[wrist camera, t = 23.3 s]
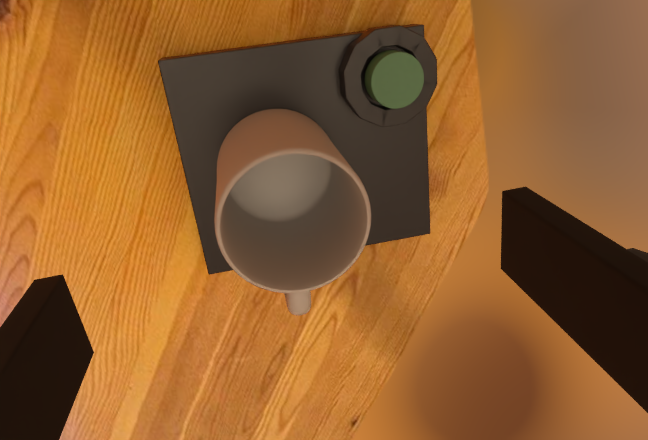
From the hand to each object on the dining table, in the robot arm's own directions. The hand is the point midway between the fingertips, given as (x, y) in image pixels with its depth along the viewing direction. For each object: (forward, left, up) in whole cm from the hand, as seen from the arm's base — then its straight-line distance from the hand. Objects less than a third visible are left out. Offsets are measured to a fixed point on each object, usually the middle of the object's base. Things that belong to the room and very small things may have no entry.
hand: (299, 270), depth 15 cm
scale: (-3, +3, -24) cm, 24 cm away
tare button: (-9, -2, -21) cm, 23 cm away
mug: (-1, +5, -22) cm, 23 cm away
